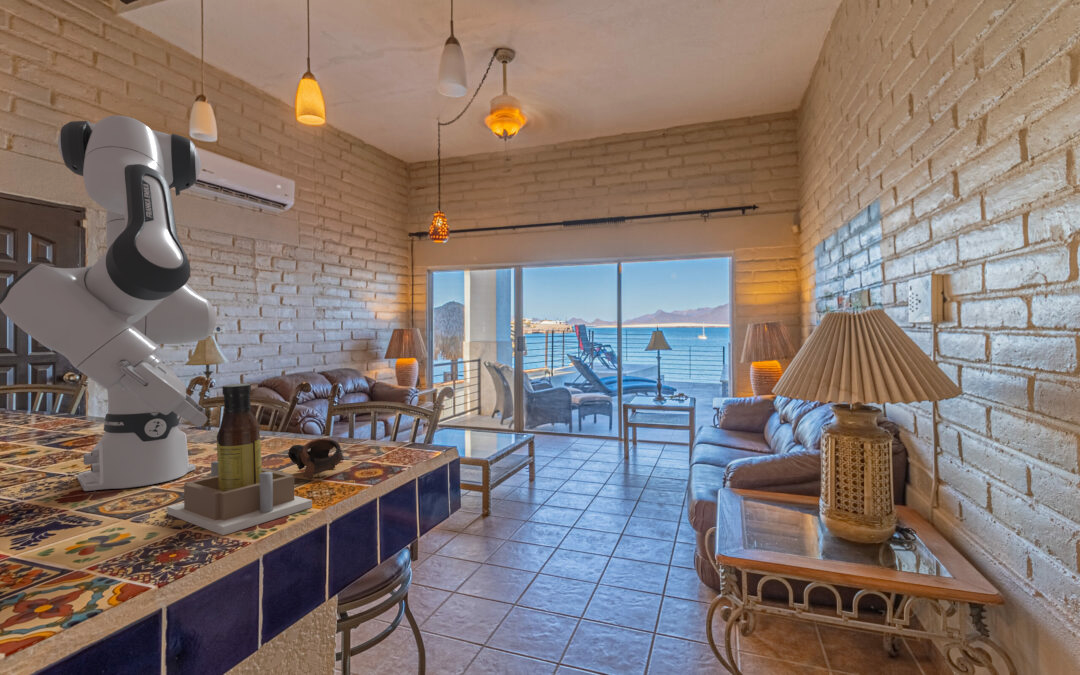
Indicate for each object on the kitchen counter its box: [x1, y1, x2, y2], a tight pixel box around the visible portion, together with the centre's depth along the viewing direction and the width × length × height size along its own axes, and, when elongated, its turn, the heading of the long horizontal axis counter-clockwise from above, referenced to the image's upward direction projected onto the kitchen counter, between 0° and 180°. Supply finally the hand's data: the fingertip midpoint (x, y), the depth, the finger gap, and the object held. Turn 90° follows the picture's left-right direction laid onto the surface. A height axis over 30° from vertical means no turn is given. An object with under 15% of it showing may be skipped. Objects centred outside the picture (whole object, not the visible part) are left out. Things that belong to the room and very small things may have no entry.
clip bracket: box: [166, 460, 313, 536], centre depth 82 cm, size 18×14×7 cm
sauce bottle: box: [216, 383, 263, 492], centre depth 82 cm, size 7×6×20 cm
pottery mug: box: [287, 437, 345, 480], centre depth 106 cm, size 12×10×8 cm
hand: (203, 418), depth 80 cm, fingers open, 8 cm apart
